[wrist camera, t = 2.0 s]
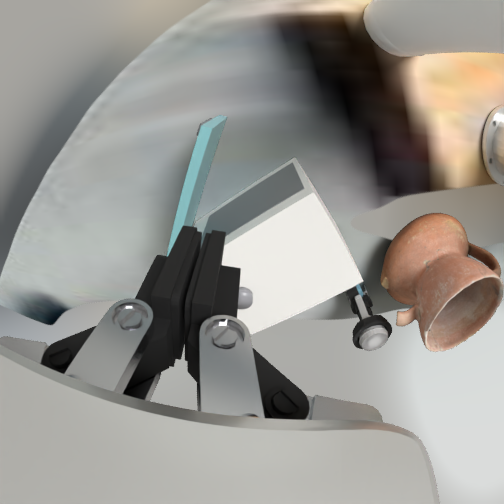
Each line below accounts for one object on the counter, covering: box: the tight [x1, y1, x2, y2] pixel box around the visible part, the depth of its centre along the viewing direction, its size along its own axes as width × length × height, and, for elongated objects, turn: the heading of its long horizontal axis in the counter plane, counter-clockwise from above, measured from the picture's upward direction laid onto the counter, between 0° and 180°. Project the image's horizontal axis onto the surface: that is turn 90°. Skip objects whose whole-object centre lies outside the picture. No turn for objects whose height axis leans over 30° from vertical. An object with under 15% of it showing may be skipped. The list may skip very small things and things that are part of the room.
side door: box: [167, 115, 227, 256], centre depth 25 cm, size 14×1×10 cm, turn 160°
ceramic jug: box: [380, 213, 504, 352], centre depth 28 cm, size 18×14×14 cm
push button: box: [346, 284, 392, 351], centre depth 34 cm, size 7×5×10 cm
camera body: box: [194, 157, 363, 335], centre depth 28 cm, size 16×10×12 cm, turn 125°
